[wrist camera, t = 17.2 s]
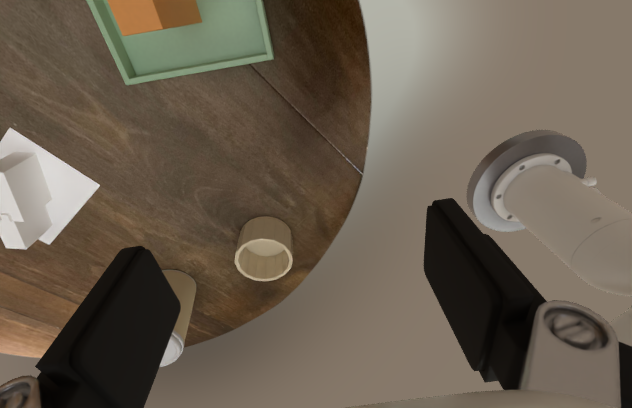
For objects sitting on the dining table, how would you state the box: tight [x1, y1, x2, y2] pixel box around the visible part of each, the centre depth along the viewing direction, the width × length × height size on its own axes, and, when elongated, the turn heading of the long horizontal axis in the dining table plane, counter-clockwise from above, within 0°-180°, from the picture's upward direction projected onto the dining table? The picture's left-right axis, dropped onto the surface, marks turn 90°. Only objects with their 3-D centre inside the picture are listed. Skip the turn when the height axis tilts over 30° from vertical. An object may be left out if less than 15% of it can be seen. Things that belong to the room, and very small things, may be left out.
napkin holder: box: [0, 128, 100, 249], centre depth 39 cm, size 15×11×6 cm
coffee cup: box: [159, 269, 196, 367], centre depth 48 cm, size 9×9×12 cm
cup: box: [235, 216, 293, 281], centre depth 46 cm, size 8×8×6 cm
